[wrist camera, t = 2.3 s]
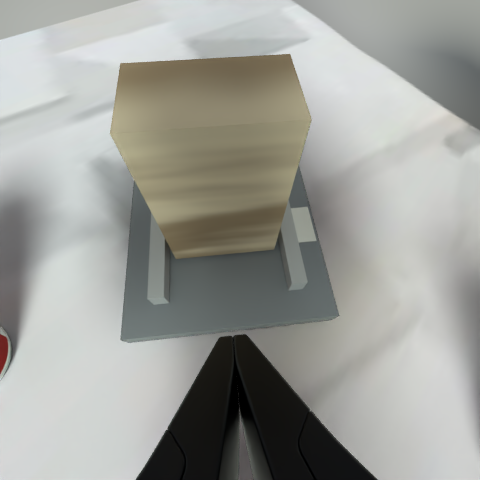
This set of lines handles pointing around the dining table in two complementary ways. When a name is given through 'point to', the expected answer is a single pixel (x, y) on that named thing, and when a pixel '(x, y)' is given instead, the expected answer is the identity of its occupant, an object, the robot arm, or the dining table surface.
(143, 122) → the slider tab
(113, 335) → the dining table surface
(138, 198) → the switch board
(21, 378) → the dining table surface
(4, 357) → the soda can
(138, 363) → the dining table surface
